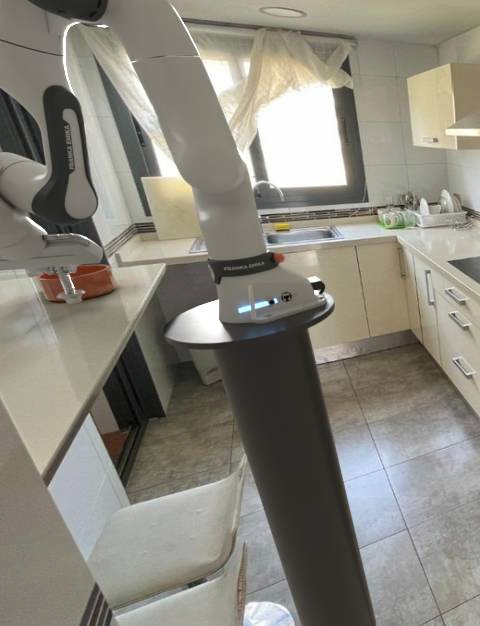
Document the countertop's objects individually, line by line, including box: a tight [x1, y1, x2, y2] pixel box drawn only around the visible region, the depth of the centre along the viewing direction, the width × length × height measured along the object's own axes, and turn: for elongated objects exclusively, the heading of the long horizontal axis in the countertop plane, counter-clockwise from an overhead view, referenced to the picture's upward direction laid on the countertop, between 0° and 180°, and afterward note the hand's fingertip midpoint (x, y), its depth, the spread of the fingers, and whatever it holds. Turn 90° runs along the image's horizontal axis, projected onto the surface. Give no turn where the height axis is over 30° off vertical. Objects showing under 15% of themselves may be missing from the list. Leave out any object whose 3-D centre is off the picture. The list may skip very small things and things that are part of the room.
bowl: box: [36, 263, 118, 303], centre depth 117 cm, size 13×13×6 cm
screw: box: [55, 266, 86, 305], centre depth 105 cm, size 13×5×5 cm
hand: (63, 271), depth 105 cm, fingers closed on screw, 2 cm apart
